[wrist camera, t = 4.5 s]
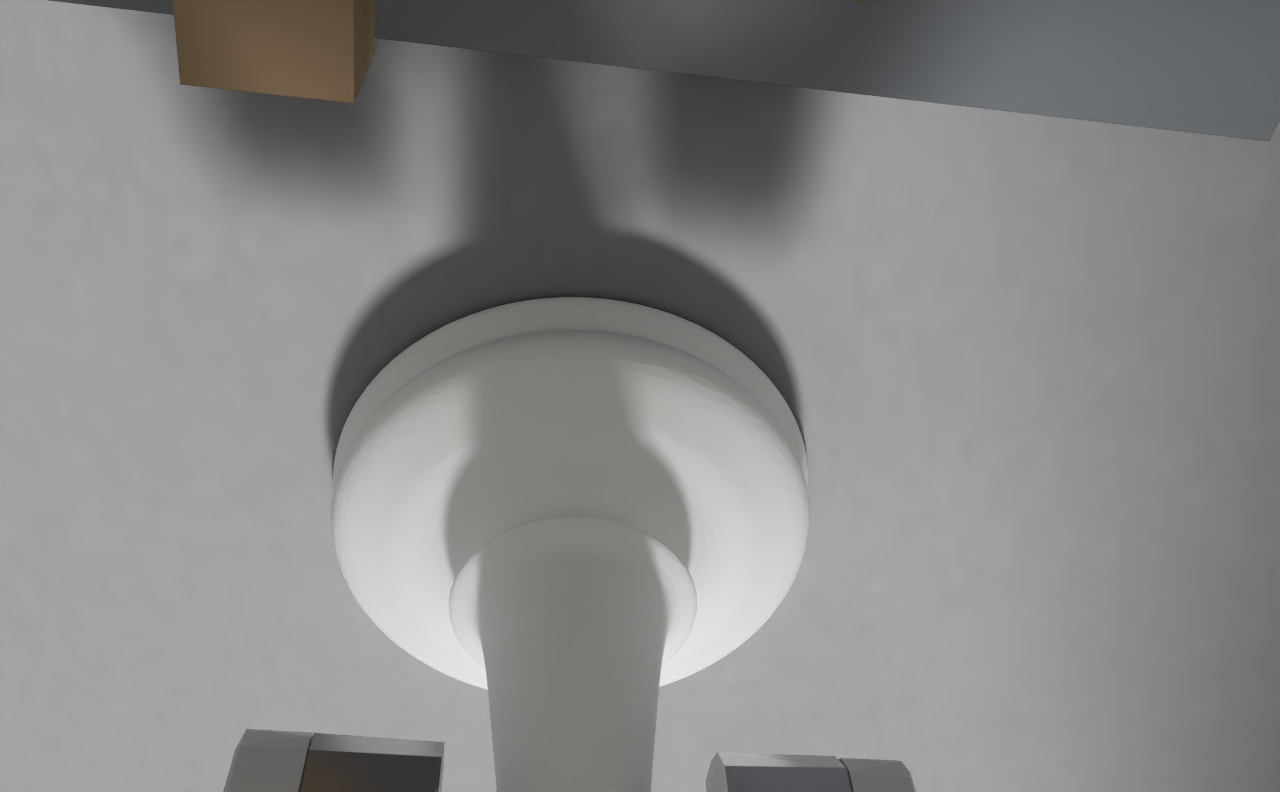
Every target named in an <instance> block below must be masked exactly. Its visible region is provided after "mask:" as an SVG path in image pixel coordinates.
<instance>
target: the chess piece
mask: <svg viewBox="0 0 1280 792" xmlns="http://www.w3.org/2000/svg"><path fill="white" fill-rule="evenodd" d="M809 521H810V510H809V497H808V464H807V456H806V451H805V446H804V443H803V439H802V436H801V433H800V430H799V427H798V425H797V422H796V420H795V418H794V416H793V414H792V412H791V410H790V408H789V406H788V404H787V403H786V401H785V399H784V398H783V396H782V395H781V394H780V392H779V391H778V389H777V388H776V387H775V385H774V384H773V383H772V382H771V380H770V379H769V378H768V377H767V376H766V375H765V374H764V372H763V371H762V370H761V369H760V368H759V367H758V366H757V365H756V364H755V363H754V362H753V361H751V360H750V359H749V358H748V357H747V356H745V355H744V354H743V353H742V352H741V351H739V350H738V349H737V348H735V347H734V346H732V345H731V344H730V343H728V342H727V341H725V340H724V339H722V338H721V337H719V336H717V335H716V334H714V333H712V332H710V331H709V330H707V329H705V328H703V327H701V326H699V325H697V324H695V323H692V322H690V321H688V320H686V319H683V318H681V317H678V316H676V315H673V314H670V313H668V312H664V311H661V310H658V309H655V308H651V307H647V306H643V305H639V304H635V303H629V302H624V301H618V300H611V299H602V298H586V297H557V298H544V299H534V300H527V301H520V302H515V303H510V304H505V305H501V306H497V307H493V308H490V309H486V310H483V311H480V312H477V313H474V314H471V315H468V316H466V317H463V318H461V319H458V320H456V321H453V322H451V323H449V324H447V325H445V326H443V327H441V328H439V329H437V330H435V331H433V332H432V333H430V334H428V335H427V336H425V337H423V338H422V339H420V340H418V341H417V342H415V343H414V344H412V345H411V346H409V347H408V348H407V349H405V350H404V351H403V352H402V353H400V354H399V355H398V356H397V357H395V358H394V359H393V360H392V361H391V362H390V363H389V364H387V365H386V366H385V367H384V368H383V369H382V370H381V371H380V372H379V374H378V375H377V376H376V377H375V378H374V379H373V380H372V382H371V383H370V384H369V385H368V386H367V388H366V389H365V390H364V392H363V393H362V394H361V396H360V397H359V399H358V400H357V402H356V404H355V405H354V407H353V409H352V411H351V413H350V414H349V416H348V418H347V420H346V423H345V425H344V427H343V430H342V433H341V436H340V439H339V442H338V446H337V450H336V455H335V460H334V468H333V504H332V533H333V540H334V546H335V551H336V555H337V558H338V562H339V565H340V568H341V570H342V573H343V575H344V578H345V580H346V582H347V584H348V586H349V588H350V590H351V591H352V593H353V595H354V597H355V598H356V600H357V601H358V603H359V604H360V606H361V607H362V608H363V610H364V611H365V612H366V614H367V615H368V616H369V617H370V619H371V620H372V621H373V622H374V623H375V624H376V625H377V626H378V627H379V628H380V629H381V630H382V631H383V632H384V633H385V634H386V635H387V636H388V637H389V638H390V639H391V640H392V641H394V642H395V643H396V644H397V645H399V646H400V647H401V648H403V649H404V650H405V651H407V652H408V653H409V654H411V655H412V656H414V657H415V658H417V659H418V660H420V661H422V662H423V663H425V664H427V665H428V666H430V667H432V668H434V669H436V670H438V671H440V672H442V673H444V674H446V675H448V676H451V677H453V678H455V679H458V680H460V681H463V682H466V683H468V684H471V685H474V686H477V687H480V688H484V689H487V690H488V696H489V706H490V718H491V729H492V741H493V752H494V763H495V774H496V787H497V792H651V780H652V767H653V755H654V743H655V731H656V718H657V706H658V694H659V687H660V686H663V685H667V684H669V683H672V682H675V681H677V680H680V679H682V678H685V677H687V676H689V675H691V674H694V673H696V672H698V671H700V670H702V669H704V668H706V667H708V666H709V665H711V664H713V663H715V662H716V661H718V660H719V659H721V658H723V657H724V656H726V655H727V654H729V653H730V652H732V651H733V650H734V649H736V648H737V647H738V646H740V645H741V644H742V643H743V642H745V641H746V640H747V639H748V638H749V637H751V636H752V635H753V634H754V633H755V632H756V631H757V630H758V629H759V628H760V627H761V626H762V625H763V624H764V623H765V622H766V621H767V620H768V619H769V617H770V616H771V615H772V614H773V612H774V611H775V610H776V609H777V607H778V606H779V605H780V603H781V602H782V600H783V599H784V597H785V596H786V594H787V592H788V591H789V589H790V587H791V585H792V583H793V581H794V579H795V577H796V575H797V573H798V570H799V568H800V565H801V563H802V560H803V556H804V553H805V549H806V545H807V539H808V532H809Z"/></svg>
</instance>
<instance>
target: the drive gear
mask: <svg viewBox="0 0 1280 792" xmlns="http://www.w3.org/2000/svg"><path fill="white" fill-rule="evenodd" d="M857 1H858V2H859V4H862V3H864V2H866V1H868V0H857ZM173 8H174V19H175V30H176V41H177V52H178V63H179V74H180V84H182V85H191V86H200V87H209V88H219V89H228V90H237V91H246V92H255V93H264V94H274V95H283V96H292V97H301V98H310V99H320V100H329V101H338V102H347V103H354V102H355V99H356V97H357V94H358V92H359V89H360V87H361V84H362V82H363V79H364V77H365V74H366V72H367V69H368V67H369V64H370V62H371V59H372V57H373V54H374V52H375V0H173Z"/></svg>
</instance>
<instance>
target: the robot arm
mask: <svg viewBox="0 0 1280 792" xmlns="http://www.w3.org/2000/svg"><path fill="white" fill-rule="evenodd" d="M443 767H444V742H432V741H418V740H404V739H391V738H377V737H363V736H349V735H336V734H322V733H309V732H290V731H271V730H253V729H246V731H245V733H244V735H243V736H242V738H241V740H240V742H239V744H238V745H237V747H236V749H235V752H234V756H233V760H232V763H231V767H230V770H229V774H228V777H227V781H226V784H225V788H224V791H223V792H441V789H442V779H443ZM706 788H707V792H916V791H915V788H914V784H913V781H912V777H911V774H910V772H909V771H908V769H907V768H906V767H905V765H904V764H903V763H902V762H901V761H896V760H876V759H848V758H840V759H837V758H836V757H835V756H814V755H782V754H751V753H719V752H717V754H716V755H715V757H714V758H713V759H712V761H711V764H710V768H709V771H708V775H707V778H706Z"/></svg>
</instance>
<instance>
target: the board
mask: <svg viewBox="0 0 1280 792" xmlns="http://www.w3.org/2000/svg"><path fill="white" fill-rule="evenodd" d="M50 1H59V2H68V3H76V4H85V5H94V6H102V7H111V8H120V9H128V10H137V11H146V12H154V13H163V14H171V15H174V8H173V0H50ZM375 38H379V39H388V40H396V41H405V42H414V43H422V44H431V45H440V46H448V47H457V48H466V49H474V50H483V51H492V52H500V53H509V54H517V55H526V56H535V57H543V58H552V59H561V60H569V61H578V62H587V63H595V64H604V65H613V66H621V67H630V68H639V69H647V70H656V71H664V72H673V73H682V74H690V75H699V76H708V77H716V78H725V79H734V80H742V81H751V82H760V83H768V84H777V85H786V86H794V87H803V88H812V89H820V90H829V91H837V92H846V93H855V94H863V95H872V96H881V97H889V98H898V99H907V100H915V101H924V102H933V103H941V104H950V105H959V106H967V107H976V108H984V109H993V110H1002V111H1010V112H1019V113H1028V114H1036V115H1045V116H1054V117H1062V118H1071V119H1080V120H1088V121H1097V122H1106V123H1114V124H1123V125H1132V126H1140V127H1149V128H1157V129H1166V130H1175V131H1183V132H1192V133H1201V134H1209V135H1218V136H1227V137H1235V138H1244V139H1253V140H1261V141H1270V139H1271V137H1272V135H1273V133H1274V131H1275V129H1276V126H1277V124H1278V122H1279V120H1280V0H868V1H866V2H864V3H862V4H859V2H858V1H857V0H375Z"/></svg>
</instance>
